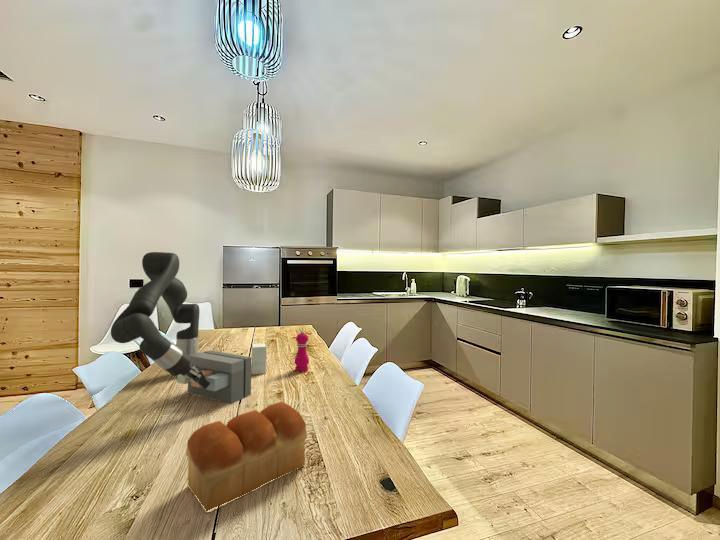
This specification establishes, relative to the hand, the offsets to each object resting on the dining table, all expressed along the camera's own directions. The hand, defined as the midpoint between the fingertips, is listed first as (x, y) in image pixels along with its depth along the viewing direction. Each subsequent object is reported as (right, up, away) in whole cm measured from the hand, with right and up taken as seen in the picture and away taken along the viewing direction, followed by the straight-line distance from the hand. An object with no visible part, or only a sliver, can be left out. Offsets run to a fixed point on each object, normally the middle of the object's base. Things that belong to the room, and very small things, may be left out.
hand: (207, 385), depth 117 cm
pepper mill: (+26, -9, +47) cm, 54 cm away
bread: (+28, -9, -37) cm, 47 cm away
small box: (+5, -9, +43) cm, 44 cm away
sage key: (-12, -2, +12) cm, 17 cm away
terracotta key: (-5, -2, +8) cm, 10 cm away
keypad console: (-2, -9, +14) cm, 17 cm away
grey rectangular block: (+2, -2, +5) cm, 6 cm away
